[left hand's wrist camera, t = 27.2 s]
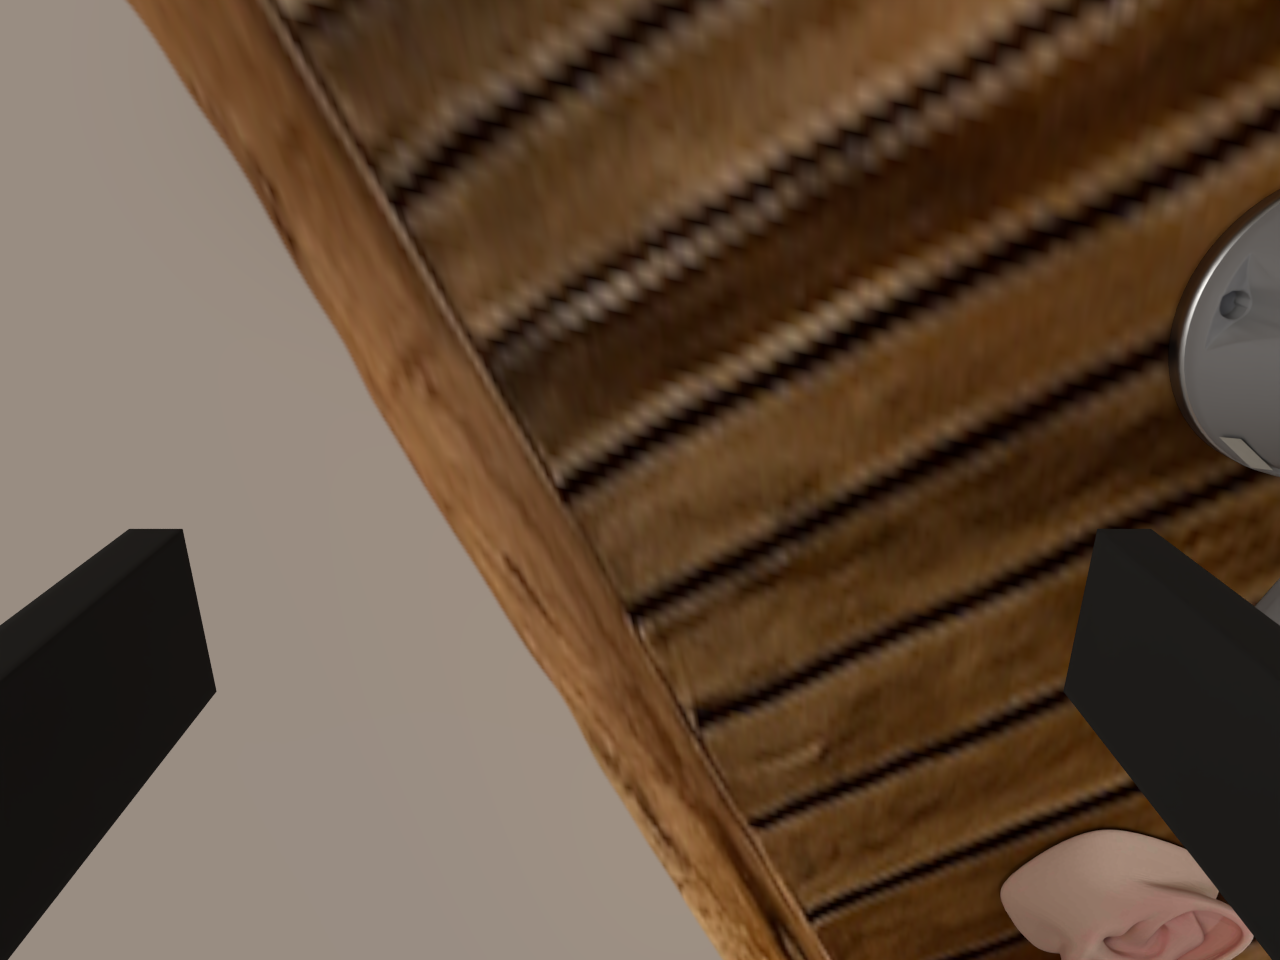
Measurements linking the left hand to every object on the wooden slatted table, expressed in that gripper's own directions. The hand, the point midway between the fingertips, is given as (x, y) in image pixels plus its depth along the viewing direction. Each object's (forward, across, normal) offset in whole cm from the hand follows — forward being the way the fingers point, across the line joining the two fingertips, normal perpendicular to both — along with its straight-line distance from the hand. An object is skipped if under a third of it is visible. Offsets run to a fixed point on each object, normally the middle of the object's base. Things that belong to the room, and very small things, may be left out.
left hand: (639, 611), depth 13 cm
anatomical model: (+32, +31, -40) cm, 60 cm away
